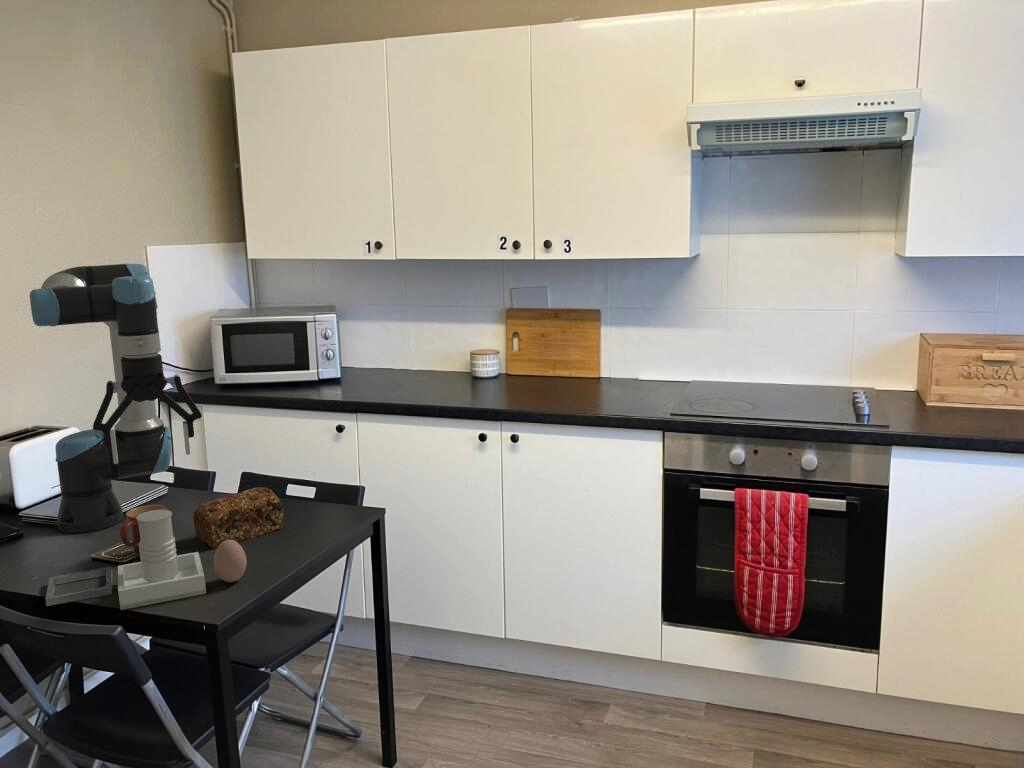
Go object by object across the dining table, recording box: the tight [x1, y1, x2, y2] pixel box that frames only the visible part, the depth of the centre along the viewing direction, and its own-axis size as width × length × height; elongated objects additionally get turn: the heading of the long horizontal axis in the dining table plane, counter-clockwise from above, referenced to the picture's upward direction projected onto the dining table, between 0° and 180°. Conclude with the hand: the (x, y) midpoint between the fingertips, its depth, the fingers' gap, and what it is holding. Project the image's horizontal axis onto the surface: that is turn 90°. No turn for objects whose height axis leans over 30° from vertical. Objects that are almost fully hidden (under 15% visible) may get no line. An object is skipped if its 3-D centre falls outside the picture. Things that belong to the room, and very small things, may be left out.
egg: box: [212, 540, 248, 583], centre depth 181 cm, size 7×7×9 cm
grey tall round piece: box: [136, 509, 178, 584], centre depth 178 cm, size 7×7×15 cm
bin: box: [117, 551, 207, 611], centre depth 179 cm, size 14×16×4 cm
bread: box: [192, 486, 284, 549], centre depth 208 cm, size 19×11×10 cm, turn 132°
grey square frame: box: [45, 566, 113, 607], centre depth 180 cm, size 12×12×2 cm
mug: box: [119, 504, 168, 558], centre depth 196 cm, size 12×9×10 cm
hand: (152, 457), depth 176 cm, fingers open, 13 cm apart
